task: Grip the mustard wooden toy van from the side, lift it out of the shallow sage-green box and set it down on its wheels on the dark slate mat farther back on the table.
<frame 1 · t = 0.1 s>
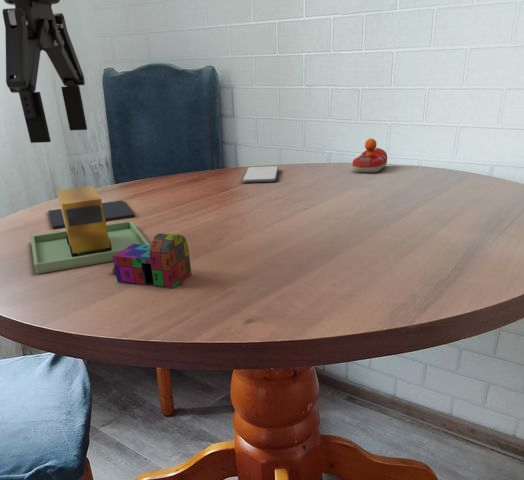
hand: (61, 135, 84), 19 cm above the table, tool pointing down, fingers open, 13 cm apart
toy van: (83, 221, 91), in the box
toy boat: (369, 170, 141), on the table
block: (151, 275, 81), on the table
box: (89, 248, 94), on the table
smartphone: (261, 176, 140), on the table
mat: (90, 214, 114), on the table
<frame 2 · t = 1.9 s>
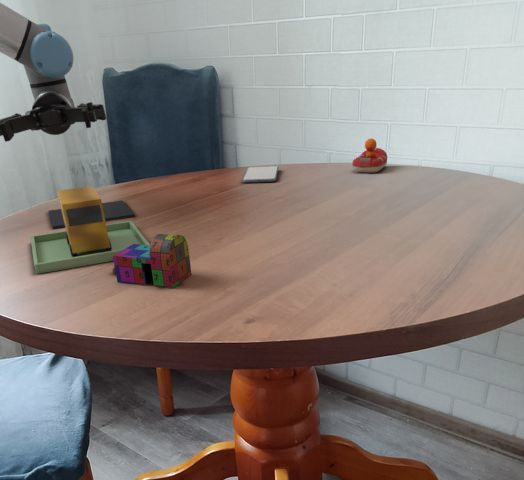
hand: (45, 126, 92), 19 cm above the table, tool horizontal, fingers open, 13 cm apart
nothing on the table moved.
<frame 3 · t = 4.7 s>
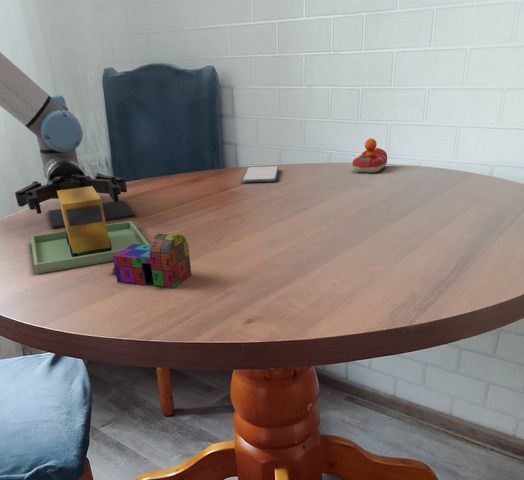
hand: (77, 200, 96), 7 cm above the table, tool horizontal, fingers open, 13 cm apart
nothing on the table moved.
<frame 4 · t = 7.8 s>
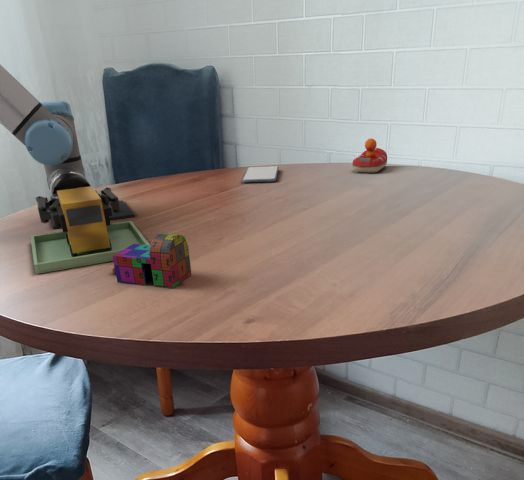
hand: (85, 220, 86), 6 cm above the table, tool horizontal, fingers closed on toy van, 6 cm apart
toy van: (83, 221, 91), in the box, touching gripper
everything else where it was.
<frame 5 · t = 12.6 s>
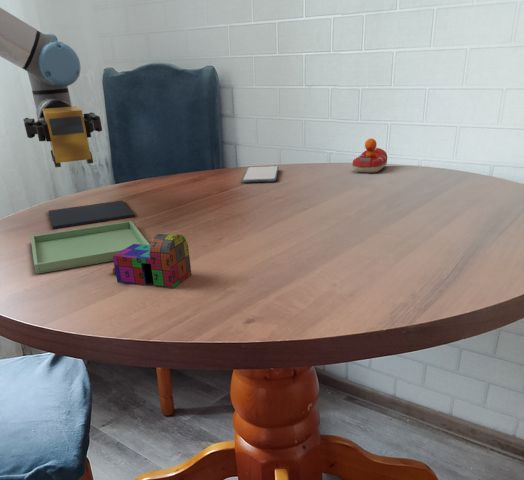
hand: (67, 131, 93), 18 cm above the table, tool horizontal, fingers closed on toy van, 6 cm apart
toy van: (67, 136, 98), point 17 cm above the table, touching gripper
everything else where it was.
when the fingers open (6 cm above the table, at t = 17.4 s): toy van stays where it is, resting on mat.
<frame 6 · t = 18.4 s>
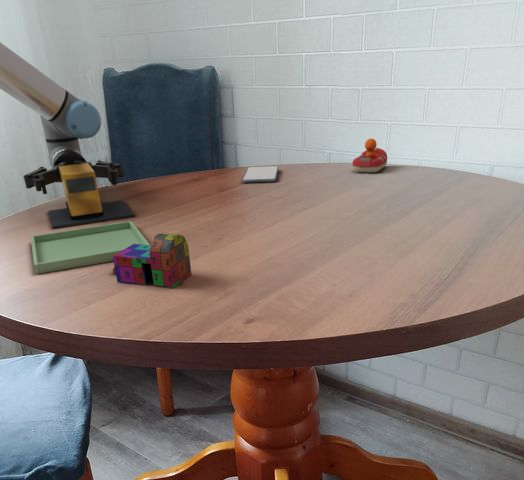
hand: (79, 182, 108), 7 cm above the table, tool horizontal, fingers open, 13 cm apart
toy van: (80, 191, 111), on the mat
everything else where it was.
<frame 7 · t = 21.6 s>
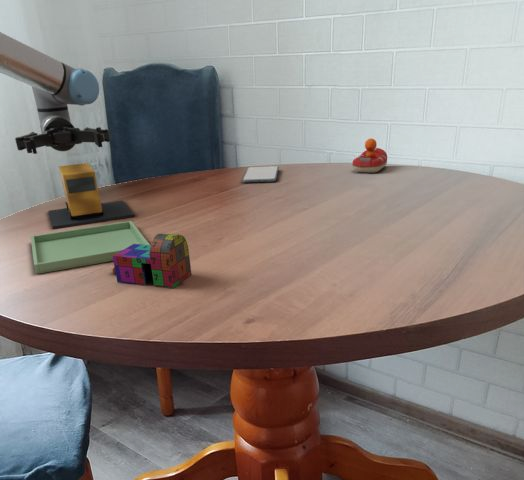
hand: (67, 143, 115), 13 cm above the table, tool horizontal, fingers open, 13 cm apart
nothing on the table moved.
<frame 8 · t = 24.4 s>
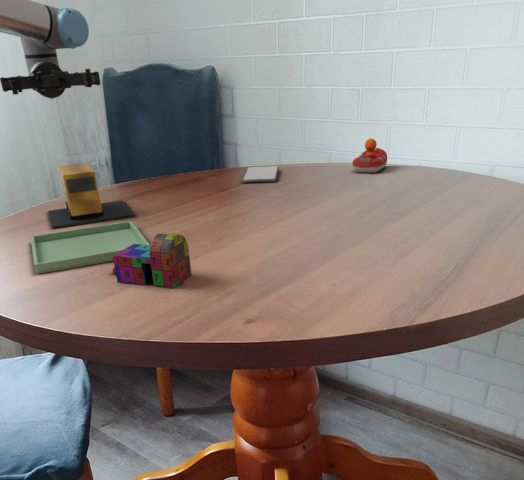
hand: (54, 82, 110), 25 cm above the table, tool horizontal, fingers open, 13 cm apart
nothing on the table moved.
at the end: toy van inside the target area on the mat (1.0 cm from its centre), point 5.0 cm above the mat's base; toy van touching mat; toy van tilted 0° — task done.
